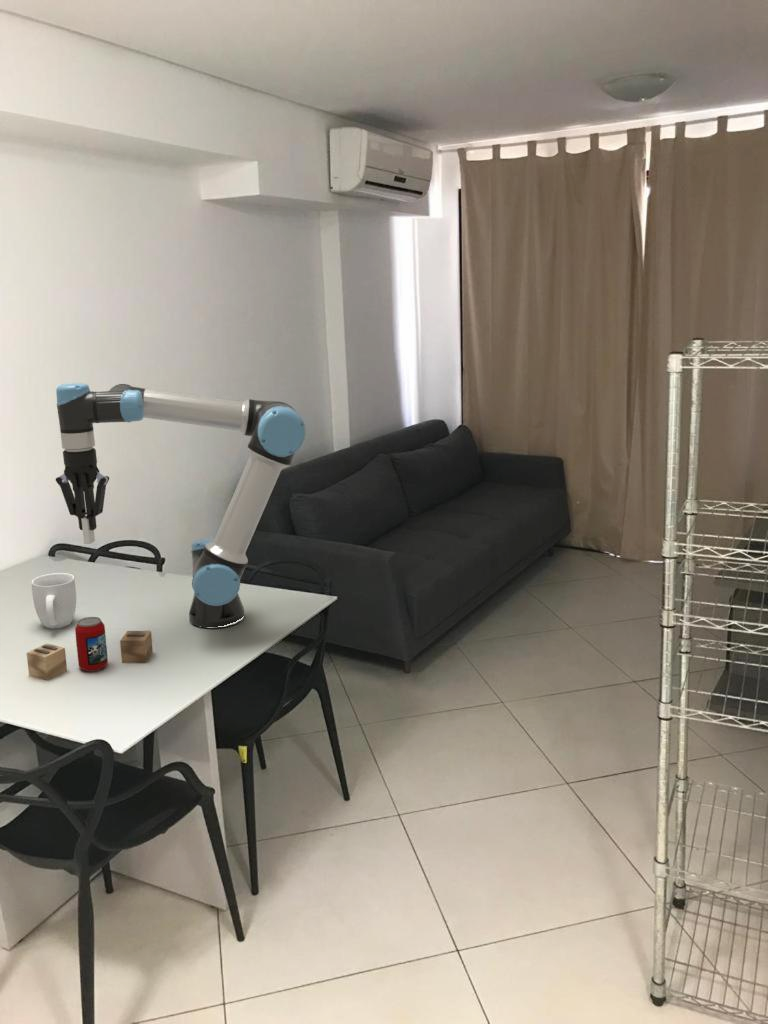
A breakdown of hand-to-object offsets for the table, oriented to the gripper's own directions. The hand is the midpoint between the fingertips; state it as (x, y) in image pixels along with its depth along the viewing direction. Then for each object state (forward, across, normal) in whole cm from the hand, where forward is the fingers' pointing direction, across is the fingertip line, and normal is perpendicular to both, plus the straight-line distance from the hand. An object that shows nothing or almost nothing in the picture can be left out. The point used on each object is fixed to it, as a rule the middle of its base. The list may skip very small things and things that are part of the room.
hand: (89, 542), depth 207 cm
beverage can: (+28, -3, +11) cm, 31 cm away
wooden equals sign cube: (+28, +6, +16) cm, 33 cm away
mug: (+28, +18, -12) cm, 36 cm away
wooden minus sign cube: (+29, -12, +5) cm, 31 cm away
